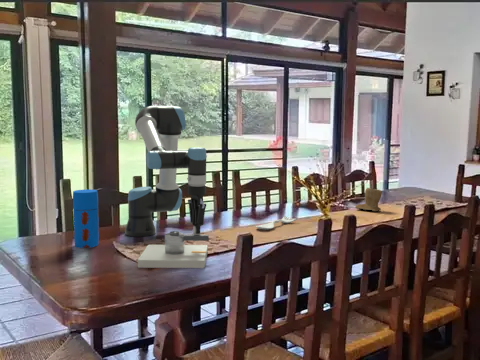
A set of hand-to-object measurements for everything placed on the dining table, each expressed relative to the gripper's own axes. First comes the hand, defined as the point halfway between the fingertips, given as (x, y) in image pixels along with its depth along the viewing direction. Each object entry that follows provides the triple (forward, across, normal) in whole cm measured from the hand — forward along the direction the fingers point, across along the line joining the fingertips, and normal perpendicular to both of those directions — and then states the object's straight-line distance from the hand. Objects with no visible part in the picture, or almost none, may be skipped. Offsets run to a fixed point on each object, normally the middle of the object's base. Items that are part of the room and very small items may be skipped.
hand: (196, 240), depth 206 cm
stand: (+7, -2, -9) cm, 12 cm away
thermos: (+8, -43, -35) cm, 56 cm away
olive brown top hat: (+8, -47, +147) cm, 155 cm away
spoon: (+8, -36, +65) cm, 75 cm away
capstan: (+4, 0, -4) cm, 6 cm away
